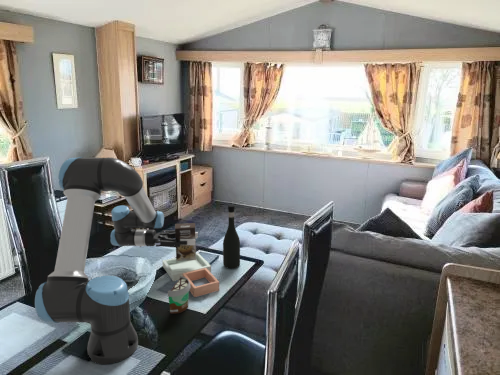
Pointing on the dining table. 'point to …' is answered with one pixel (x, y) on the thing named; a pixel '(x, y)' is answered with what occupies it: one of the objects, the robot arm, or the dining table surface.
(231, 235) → the wine bottle
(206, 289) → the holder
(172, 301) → the food container
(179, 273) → the tray
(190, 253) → the coffee box
